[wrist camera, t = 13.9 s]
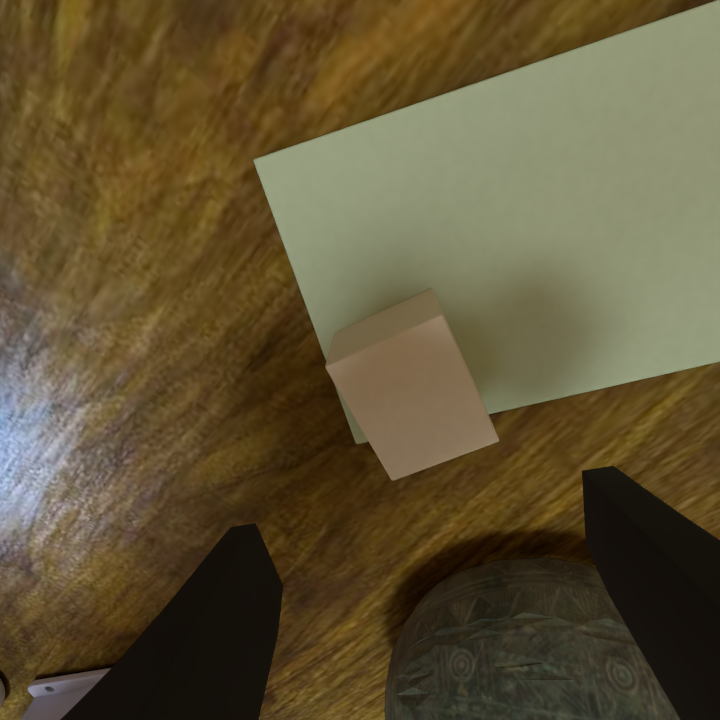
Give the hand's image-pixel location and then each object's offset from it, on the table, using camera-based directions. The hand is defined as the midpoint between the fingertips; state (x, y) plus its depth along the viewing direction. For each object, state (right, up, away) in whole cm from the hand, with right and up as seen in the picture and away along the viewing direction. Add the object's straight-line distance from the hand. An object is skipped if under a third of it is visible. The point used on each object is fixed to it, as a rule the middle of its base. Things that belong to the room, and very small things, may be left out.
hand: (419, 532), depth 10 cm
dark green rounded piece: (+7, -11, +14) cm, 20 cm away
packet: (+1, +4, +7) cm, 8 cm away
